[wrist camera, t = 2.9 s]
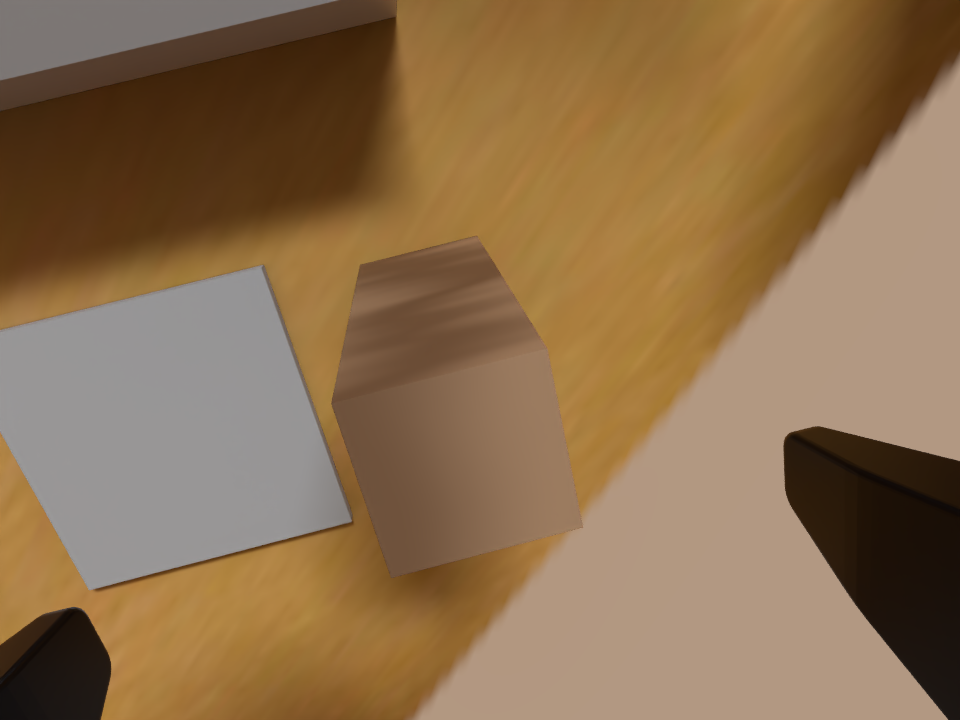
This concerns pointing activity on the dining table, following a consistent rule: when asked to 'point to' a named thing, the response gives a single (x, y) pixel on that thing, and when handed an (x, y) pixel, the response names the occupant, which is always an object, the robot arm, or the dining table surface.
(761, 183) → the dining table surface
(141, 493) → the mat
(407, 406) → the brown rectangular block
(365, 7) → the box
